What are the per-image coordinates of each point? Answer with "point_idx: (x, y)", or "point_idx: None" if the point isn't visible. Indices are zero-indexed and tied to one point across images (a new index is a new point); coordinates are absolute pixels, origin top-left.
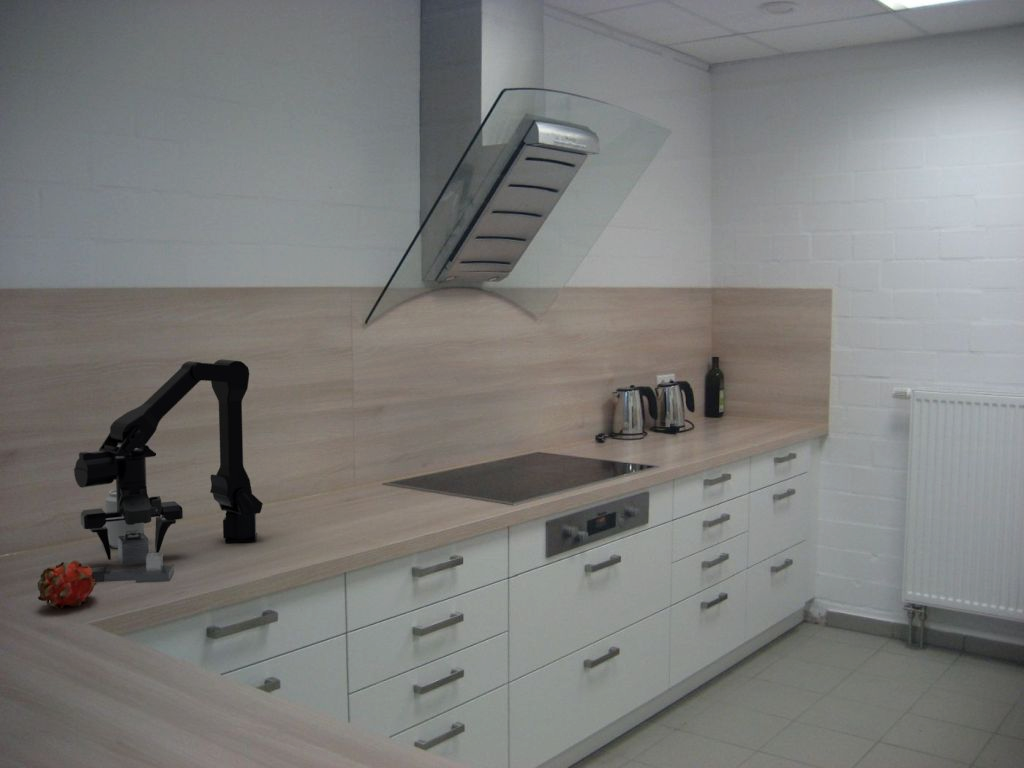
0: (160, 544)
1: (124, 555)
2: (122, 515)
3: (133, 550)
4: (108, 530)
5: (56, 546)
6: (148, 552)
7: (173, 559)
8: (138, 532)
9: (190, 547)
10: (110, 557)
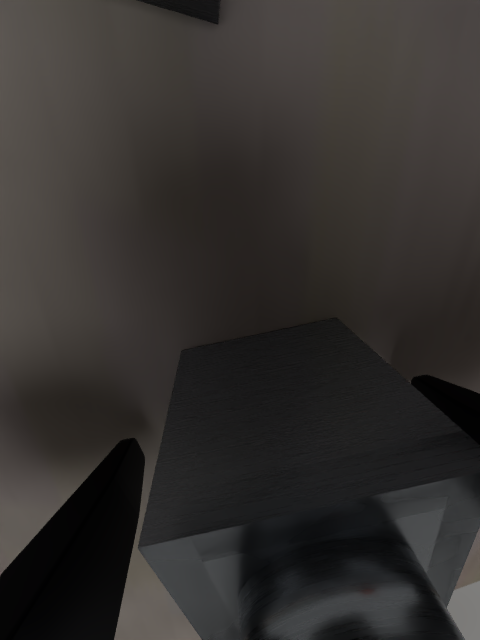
0: (71, 504)
1: (360, 355)
2: None
3: (300, 393)
4: None
5: (474, 578)
6: (171, 396)
7: (34, 390)
8: None
9: (13, 551)
10: (427, 383)
